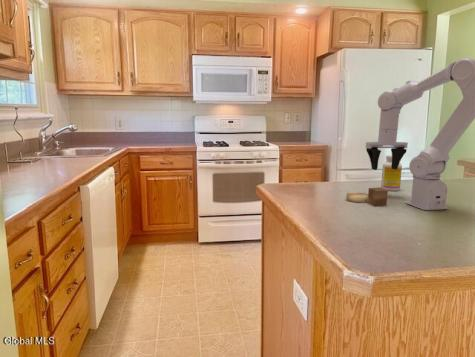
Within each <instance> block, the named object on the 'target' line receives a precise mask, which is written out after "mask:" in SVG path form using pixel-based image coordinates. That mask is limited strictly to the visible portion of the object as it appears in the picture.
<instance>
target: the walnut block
mask: <svg viewBox="0 0 475 357" xmlns="http://www.w3.org/2000/svg"><path fill="white" fill-rule="evenodd" d="M367 195H368V200H367V204H368V205H370V206H373V207H386V206H387V202H388V190H386V189H383V188H381V187H369V188H368V194H367Z"/></svg>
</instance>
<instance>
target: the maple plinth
mask: <svg viewBox="0 0 475 357" xmlns="http://www.w3.org/2000/svg"><path fill="white" fill-rule="evenodd" d="M345 200H346V201H347V202H350V203H355V204H362V203H365V204H366V203H368V194H367V193H365V192H357V191H354V192H351V191H350V192H347V193H346V199H345Z"/></svg>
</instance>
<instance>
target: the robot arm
mask: <svg viewBox="0 0 475 357" xmlns="http://www.w3.org/2000/svg"><path fill="white" fill-rule="evenodd" d="M448 82H449V83H450V82H455V83H456V85H457V86H458V87H459V89H460V91H461V93H462V99H461V101H460V102H459V104H458V105H457V106H456V108H455V109H454V111H453V112H452V113H451V115H450V116H449V118H448V119H447V121H446V122H445V124H444V125H443V126H442V128H441V129H440V131H439V132H438V133H437V135H436V136H435V138H433V141H432V142H431V143H430V145H429V146H427V147H426V148H424V149H422V150H421V151H420V153H419V154H418V155H417V156H414V157H413V158H412V159H411V160H410V162H409V171H410V173H411V175H412V188H411V198H410V200H405V201H404V202H403V203H405V204H408V205H409V206H413V207H415V208H418V209H419V210H420V209H421V210H422V211H423V210H424V211H435V210H448V207H447V206H446V204H447V196H448V195H447V194H448V186H447V183H445V182H444V181H442V180H441V174H443V173H444V172H445V170H446V167H447V163H448V161H449V160H450V152H451V151H452V149H453V148H454V147H455V145H456V144H457V142H458V141H459V140H460V139H461V138H462V136H463V134H464V133H465V132H466V131H467V130H468V128H469V127H470V125H471V124H472V123H473V121H474V120H475V58H474V59H473V58H471V57H462V58H460V59H457V61H454V62H450V63H449V64H448V65H446V66H445V67H443V68H442V69H440V70H438V71H436V72H434V73H433V74H430V75H429V76H427V77H426V78H424V79H422V80H420V81H418V80H417V81H416V80H407V81H405V84H404V85H402V86H400V87H397V88H396V87H395V88H393V89H392V91H391V92H390V91H383V93H381V94H380V96H379V97H378V99H377V105H378V108H380V117H379V127H378V137H377V138H378V139H377V141H370V142H368V141H365V149H366V152H367V155H368V157H369V161H370V165H371V170H374V171H377V170H378V168H379V166H378V165H379V158H380V156H381V153H382V150H381V149H390V150H391V155H392V165H391V166H392V169H395V170H397V168H398V165H399V163H401V161H402V159H403V157H404V155H405V154H406V153H407V149H408V146H409V143H408V142H405V141H397V139H398V128H399V127H398V126H399V120H400V114H401V110H402V109H403V107H404V106H406V105H407V104H410V103H412V102H414V101H417V100H419V99H421V98H422V97H423V95H424V93H425V92H427V91H430V90H431V89H435V88H437V87H440V86H441V85H444V84H446V83H448Z"/></svg>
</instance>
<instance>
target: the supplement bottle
mask: <svg viewBox="0 0 475 357" xmlns="http://www.w3.org/2000/svg"><path fill="white" fill-rule="evenodd" d="M391 165H392V154H388V155H386V156H385V162H383V164H382V168H381V172H382V173H381V181H380V182H381V183H380V188H383V189H386V190H388V191H390V192H391V191H392V192H395V191H396V192H397V191H400V189H401V181H402V180H401V179H402V167H403V165H402V163H401V162H400V163H399V165H398V168H397V170H395V169H392V166H391Z"/></svg>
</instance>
